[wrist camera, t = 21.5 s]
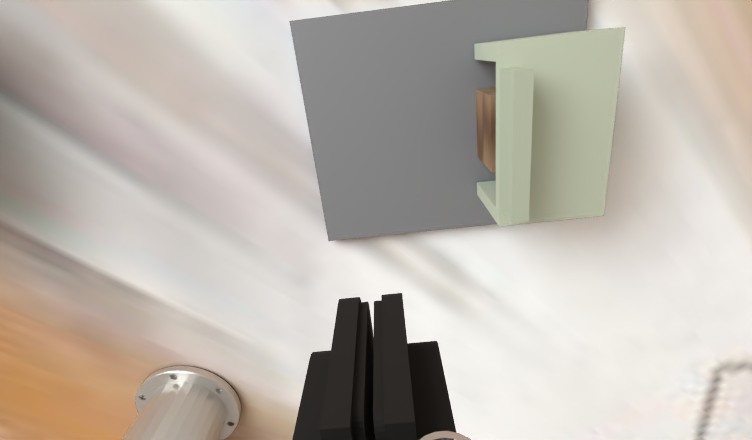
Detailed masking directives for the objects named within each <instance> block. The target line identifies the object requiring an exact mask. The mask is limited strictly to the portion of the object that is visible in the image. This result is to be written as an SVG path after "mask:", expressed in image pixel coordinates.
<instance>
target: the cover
mask: <svg viewBox="0 0 752 440" xmlns="http://www.w3.org/2000/svg"><path fill="white" fill-rule="evenodd" d="M624 35H625V27H621V28H609V29H597V30H586V31H574V32H566V33H557V34H549V35H541V36H533V37H525V38H517V39H509V40H501V41H493V42H485V43H477V44H474V52H475V59H476V60H485V61H494V62H496V180H495V181H486V182H477V195H478V197H479V198H480V199H481V201H482V202H483V204H484V205H485V207H486V208H487V210H488V211H489V213H490V214H491V215H492V217H493V218H494V220H495V221H496V223H497V224H498V226H509V225H519V224H528V223H538V222H548V221H557V220H567V219H577V218H587V217H596V216H604V210H605V201H606V193H607V184H608V175H609V166H610V158H611V149H612V140H613V131H614V123H615V114H616V105H617V96H618V88H619V79H620V70H621V61H622V53H623V44H624Z"/></svg>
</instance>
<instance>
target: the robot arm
mask: <svg viewBox="0 0 752 440" xmlns="http://www.w3.org/2000/svg"><path fill="white" fill-rule="evenodd" d="M135 404H136V409H137V412H138V415H137V417H136V418H135V420H134V421H133V423H132V424H131V426H130V427H129V429H128V430H127V432H126V434H125V435H124V437H123V438H122V440H224V439H225V438H227V437H228V436H229V435H230V434H232V433H233V431H234V430H235V428H236V427H237V424H238V422H239V419H240V415H241V404H240V401H239V398H238V396H237V394H236V393H235V391H234V390H233V389H232V387H231V386H230V385H229V384H228V383H227V382H225V381H224V380H223V379H222V378H220V377H218V376H217V375H215V374H213V373H211V372H209V371H206V370H204V369H200V368H196V367H189V366H172V367H167V368H163V369H161V370H158V371H156V372H154V373H153V374H151V375H150V376H148V377H147V379H146V380H145V381H144V382H143V383H142V385H141V386H140V388H139V389H138V392H137V394H136V401H135ZM293 440H471V439H469V438H467V437H465V436H463V435H461V434H459V433H456V429H455V424H454V419H453V415H452V410H451V405H450V400H449V395H448V390H447V386H446V381H445V376H444V371H443V366H442V362H441V357H440V352H439V347H438V343H437V341H431V342H420V343H409V344H407V337H406V328H405V318H404V309H403V299H402V293H398V294H387V295H382V301H374V337H373V330H372V323H371V316H370V310H369V304H368V302H362V303H361V300H360V297H356V298H346V299H339V302H338V308H337V315H336V322H335V328H334V335H333V342H332V349H331V351H321V352H313V353H312V354H311V357H310V361H309V365H308V370H307V375H306V379H305V384H304V389H303V393H302V398H301V403H300V407H299V412H298V417H297V421H296V426H295V431H294V435H293Z"/></svg>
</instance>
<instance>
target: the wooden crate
mask: <svg viewBox="0 0 752 440" xmlns="http://www.w3.org/2000/svg"><path fill="white" fill-rule="evenodd" d="M476 121H477V157H478V158H479V159H480V160H481V161H482V162H483V163H484V165H485V166H486V167H487V168H488V169H489V170H490V171H491V172H496V87H490V88H483V89H476Z"/></svg>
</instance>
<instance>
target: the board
mask: <svg viewBox="0 0 752 440" xmlns="http://www.w3.org/2000/svg"><path fill="white" fill-rule="evenodd" d="M587 11H588V0H450V1H442V2H435V3H427V4H419V5H411V6H404V7H396V8H388V9H380V10H372V11H365V12H357V13H349V14H341V15H334V16H326V17H318V18H310V19H303V20H295V21H290V26H291V32H292V38H293V43H294V49H295V54H296V60H297V66H298V71H299V77H300V83H301V88H302V94H303V99H304V105H305V111H306V116H307V122H308V127H309V133H310V139H311V144H312V150H313V156H314V161H315V167H316V172H317V178H318V184H319V189H320V195H321V200H322V206H323V212H324V217H325V223H326V228H327V234H328V240H329V241H334V240H344V239H353V238H363V237H373V236H382V235H392V234H402V233H411V232H421V231H431V230H441V229H450V228H460V227H470V226H479V225H489V224H497V223H496V221H495V220H494V218H493V217H492V215H491V214H490V213H489V211H488V210H487V208H486V207H485V205H484V204H483V202H482V201H481V199H480V198H479V197H478V195H477V182H486V181H495V180H496V172H491V171H490V170H489V169H488V168H487V167H486V166H485V165H484V163H483V162H482V161H481V160H480V159H479V158H478V157H477V121H476V89H483V88H490V87H496V62H494V61H485V60H476V59H475V52H474V44H477V43H485V42H493V41H501V40H509V39H517V38H525V37H533V36H541V35H549V34H557V33H566V32H574V31H586V23H587Z"/></svg>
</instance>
